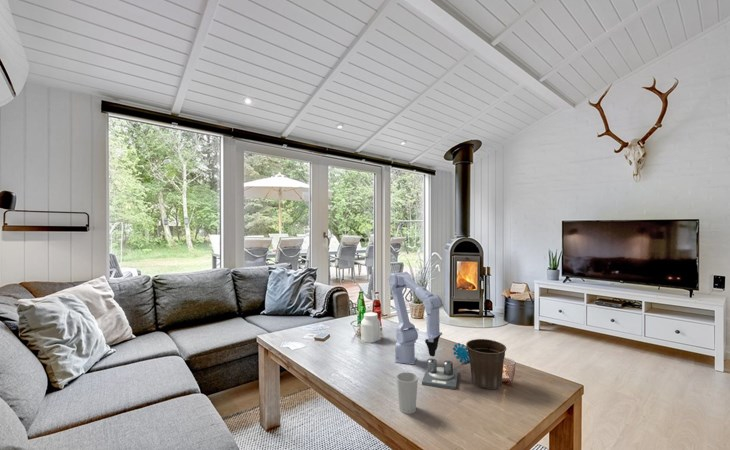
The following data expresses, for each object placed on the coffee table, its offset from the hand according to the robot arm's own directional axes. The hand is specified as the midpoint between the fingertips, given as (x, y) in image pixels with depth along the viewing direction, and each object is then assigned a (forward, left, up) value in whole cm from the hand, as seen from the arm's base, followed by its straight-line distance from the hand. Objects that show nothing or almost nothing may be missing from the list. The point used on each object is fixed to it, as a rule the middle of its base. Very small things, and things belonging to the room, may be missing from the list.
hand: (433, 352), depth 151 cm
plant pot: (+22, 0, -10) cm, 25 cm away
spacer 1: (0, -1, -8) cm, 8 cm away
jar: (-42, +34, -10) cm, 55 cm away
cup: (-6, -30, -10) cm, 33 cm away
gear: (+12, +20, -10) cm, 26 cm away
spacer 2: (+7, -1, -8) cm, 11 cm away
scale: (+3, -2, -10) cm, 11 cm away
